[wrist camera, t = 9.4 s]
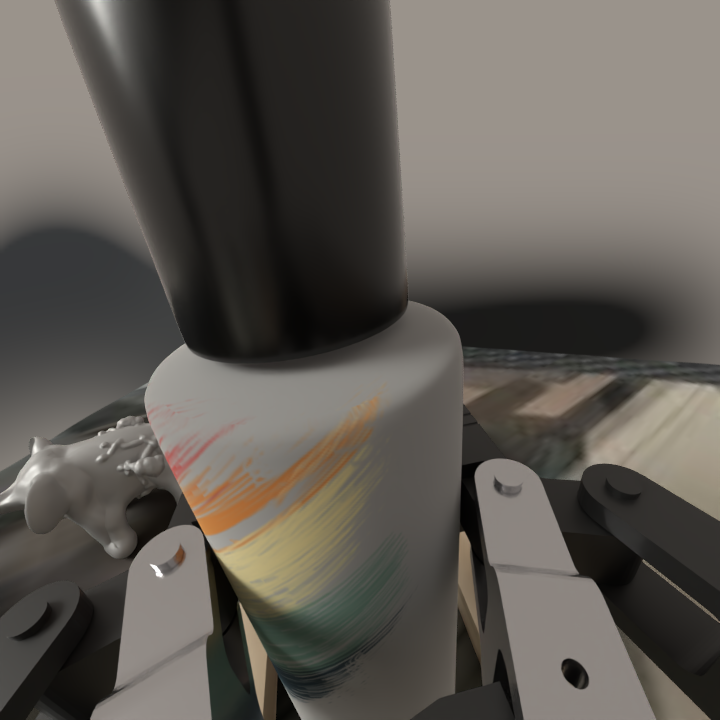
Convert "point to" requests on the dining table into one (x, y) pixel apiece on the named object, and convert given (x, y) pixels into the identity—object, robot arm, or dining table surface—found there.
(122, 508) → the elephant statuette
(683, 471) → the dining table surface
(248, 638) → the guide lane
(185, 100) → the lotion bottle
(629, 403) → the dining table surface
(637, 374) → the dining table surface
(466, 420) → the robot arm
